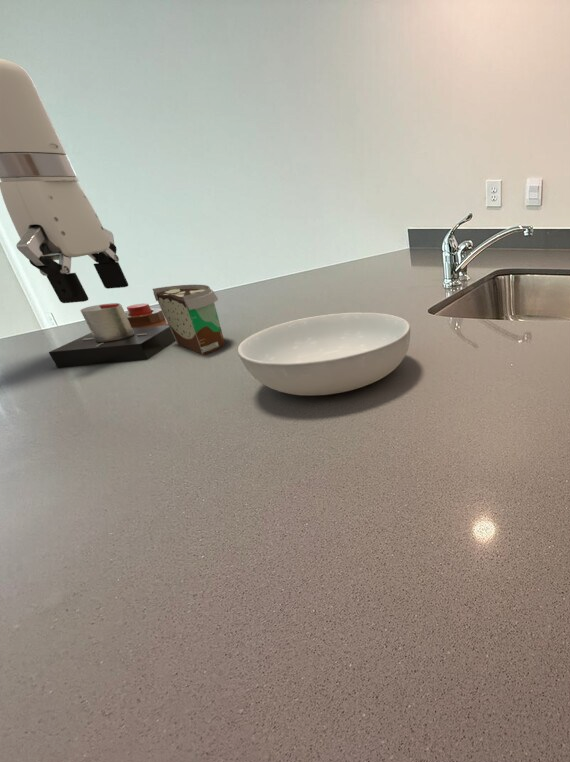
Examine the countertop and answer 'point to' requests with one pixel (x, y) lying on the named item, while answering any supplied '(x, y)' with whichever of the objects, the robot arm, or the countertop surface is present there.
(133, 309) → the button
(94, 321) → the stove knob
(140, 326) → the igniter
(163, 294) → the food container
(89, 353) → the stove panel
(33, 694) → the countertop surface
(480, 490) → the countertop surface
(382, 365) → the serving bowl
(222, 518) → the countertop surface
